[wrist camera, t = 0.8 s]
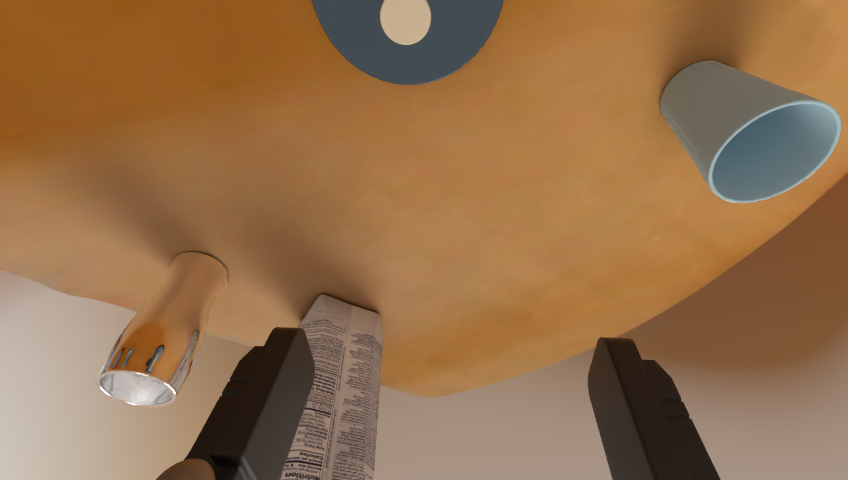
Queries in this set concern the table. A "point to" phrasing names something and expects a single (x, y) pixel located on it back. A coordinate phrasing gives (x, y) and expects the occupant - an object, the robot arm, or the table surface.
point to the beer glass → (164, 335)
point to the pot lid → (408, 35)
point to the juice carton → (339, 395)
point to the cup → (747, 130)
